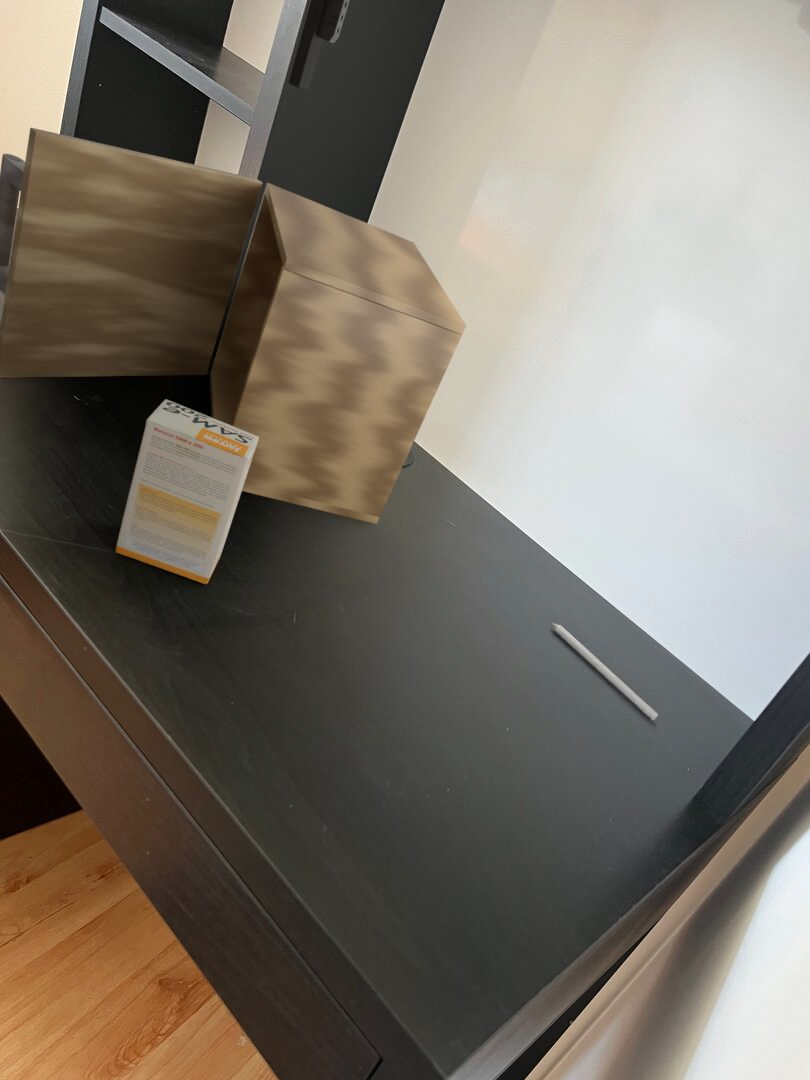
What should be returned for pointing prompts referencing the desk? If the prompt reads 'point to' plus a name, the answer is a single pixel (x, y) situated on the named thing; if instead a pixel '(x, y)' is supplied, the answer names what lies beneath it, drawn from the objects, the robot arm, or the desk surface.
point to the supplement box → (184, 491)
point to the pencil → (606, 672)
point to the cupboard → (330, 355)
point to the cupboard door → (115, 259)
